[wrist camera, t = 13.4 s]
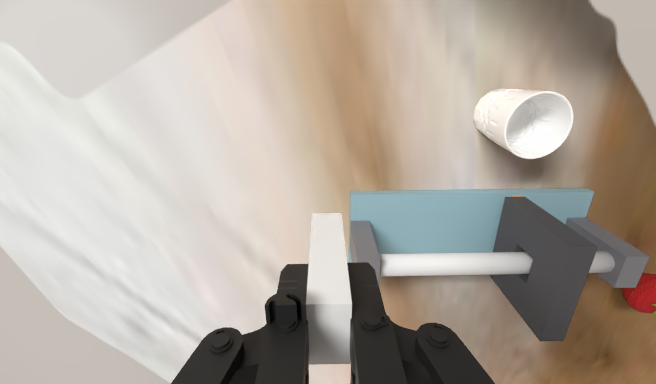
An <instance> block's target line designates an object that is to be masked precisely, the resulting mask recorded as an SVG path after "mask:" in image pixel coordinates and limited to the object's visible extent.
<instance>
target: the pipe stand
mask: <svg viewBox="0 0 656 384" xmlns="http://www.w3.org/2000/svg"><path fill="white" fill-rule="evenodd" d="M593 195H594V191H592V190H590V189H588V188H555V189H478V190H402V191H350V226H349V263H356V262H368V263H369V264H370V265H371V266H372V267H373V268H374V269H375V273H376V277H377V281H378V286H379V277H380V276H434V275H496V274H529V272H530V269H531V265H532V262H533V259H532V258H531V257H530V256H529V255H528V254H527V253H526V252H493V249H494V244H495V240H496V235H497V231H498V226H499V222H500V217H501V213H502V209H503V204H504V200H505V197H526V198H528V199H529V200H531V201H532V202H533V203H535V204H536V205H538V206H539V207H541V208H542V209H544V210H545V211H547V212H548V213H549V214H551V215H552V216H554V217H555V218H557V219H558V220H560V221H561V222H562V223H564V224H565V225H567V226H568V227H570V228H571V229H573V230H574V231H576V232H577V233H578V234H580V235H581V236H583V237H584V238H586V239H587V240H589V241H590V242H591V243H593V244H594V245H596V246H597V247H598V249H597V251H596V254H595V257H594V260H593V262H592V265H591V268H590V270H589V273H596V274H597V275H598V276H600V277H601V278H602V279H603V280H605V281H606V282H607V283H608V284H610V285H611V286H612V287H613V288H636V286H637V284H638V282H639V279H640V277H641V275H642V273H643V271H644V268H645V266H646V264H647V262H648V259H649V257H650V256H648V255H647V254H645V253H643V252H642V251H640V250H638V249H637V248H635V247H633V246H632V245H630V244H629V243H627V242H625V241H624V240H622V239H620V238H619V237H617V236H615V235H614V234H612V233H611V232H609V231H607V230H606V229H604V228H602V227H601V226H599V225H597V224H596V223H594V222H592V221H591V220H589V219H588V218H586V215H587V212H588V209H589V206H590V204H591V201H592V198H593Z"/></svg>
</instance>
